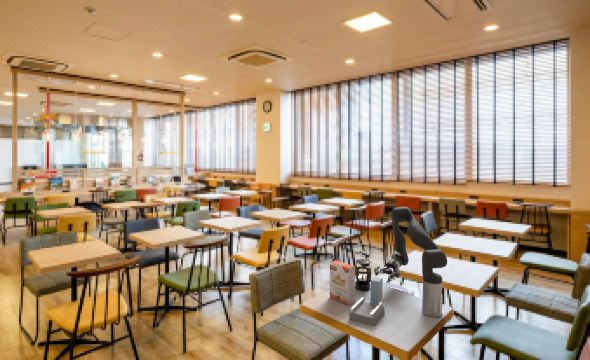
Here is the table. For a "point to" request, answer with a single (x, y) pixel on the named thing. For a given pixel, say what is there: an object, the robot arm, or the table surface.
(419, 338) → the table surface
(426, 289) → the robot arm
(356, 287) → the french press
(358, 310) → the stand
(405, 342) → the table surface
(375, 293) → the light blue rectangular block
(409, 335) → the table surface
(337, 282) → the cracker box
